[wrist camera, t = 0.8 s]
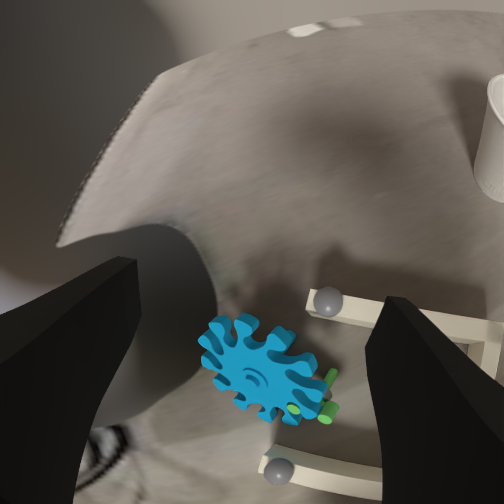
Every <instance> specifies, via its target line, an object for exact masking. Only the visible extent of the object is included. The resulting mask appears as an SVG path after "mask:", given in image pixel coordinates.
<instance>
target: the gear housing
mask: <svg viewBox="0 0 504 504" xmlns="http://www.w3.org/2000/svg"><path fill="white" fill-rule="evenodd" d="M383 305H384V303H383V302H378V301H373V300H367V299H362V298H356V297H351V296H346V295H341V293H340V292H339V290H337V289H336V288H334V287H330V286H327V287H323V288H321V289H319V290H315V289H310V293H309V297H308V301H307V305H306V310H307V312H308V313H309V314H310V315H311V316H314V317H319V318H323V319H328V320H333V321H338V322H343V323H348V324H353V325H358V326H363V327H369V328H374V326H375V324H376V322H377V319H378V317H379V315H380V312H381V310H382V308H383ZM419 310H420V311H421V312H422V313H423V314H424V315H425V316H427V317H428V318H429V319H430V320H431V321H432V322H433V323H434V324H435V325H436V326H437V327H438V328H439V329H440V330H441V331H442V332H443V333H444V334H445V335H446V336H447V337H448V338H449V339H450V340H451V341H452V342H456V343H463V344H469V347H468V353H467V356H468V357H469V358H470V359H471V360H472V361H473V362H474V363H475V364H477V365H478V366H479V367H480V368H481V369H482V370H483V371H484V372H486V373H487V374H488V375H489V376H490V377H492V378H493V379H494V380H495V377H496V372H497V367H498V362H499V356H500V351H501V344H502V338H503V330H504V323H502V322H495V321H489V320H483V319H476V318H470V317H464V316H458V315H452V314H446V313H440V312H434V311H429V310H423V309H419ZM258 472H259V473H263V474H264V477H265V479H266V480H267V481H268V482H269V483H271V484H273V485H284V484H286V483H288V482H292V483H296V484H300V485H303V486H307V487H311V488H315V489H320V490H324V491H328V492H333V493H338V494H343V495H348V496H354V497H359V498H365V499H372V500H379V501H382V468H378V467H372V466H366V465H361V464H355V463H350V462H345V461H340V460H336V459H331V458H327V457H323V456H318V455H314V454H310V453H306V452H303V451H299V450H295V449H292V448H288V447H285V446H281V445H278V444H274V445H273V446H272V447H271V448H270V449H269V450H268V451H267V452H266V453H265V454H264V455H263V458H262V461H261V464H260V467H259V469H258Z"/></svg>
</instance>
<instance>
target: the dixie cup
mask: <svg viewBox="0 0 504 504" xmlns="http://www.w3.org/2000/svg"><path fill="white" fill-rule="evenodd" d="M487 96H488V101H487V107H486V113H485V118H484V123H483V128H482V133H481V138H480V142H479V146H478V150H477V155H476V159H475V162H474V168H473V171H474V176H475V179H476V182H477V184H478V185H479V187H480V188H481V190H482V191H483V192H484V193H485V194H486V195H487V196H489V197H490V198H491V199H493V200H495V201H498V202H501V203H504V74H500V75H497V76H495V77H493V78H492V79H491V80H490V82H489V83H488V87H487Z"/></svg>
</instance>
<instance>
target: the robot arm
mask: <svg viewBox="0 0 504 504" xmlns="http://www.w3.org/2000/svg"><path fill="white" fill-rule="evenodd" d="M141 316H142V312H141V303H140V293H139V282H138V270H137V260H136V259H131V258H125V257H119V256H118V257H115V258H113V259H110V260H108V261H106V262H104V263H102V264H100V265H98V266H97V267H95V268H93V269H91V270H89V271H87V272H85V273H84V274H82V275H80V276H78V277H76V278H74V279H73V280H71V281H69V282H67V283H66V284H64V285H62V286H60V287H58V288H56V289H54V290H52V291H50V292H48V293H46V294H44V295H42V296H40V297H38V298H36V299H34V300H32V301H30V302H28V303H26V304H24V305H22V306H20V307H18V308H15V309H13V310H10V311H8V312H6V313H3V314H1V315H0V504H73V498H74V491H75V486H76V481H77V477H78V472H79V468H80V463H81V459H82V456H83V452H84V449H85V445H86V442H87V438H88V435H89V432H90V429H91V426H92V423H93V420H94V417H95V414H96V412H97V409H98V407H99V405H100V403H101V400H102V398H103V396H104V394H105V392H106V391H107V389H108V387H109V385H110V383H111V381H112V379H113V377H114V375H115V373H116V371H117V369H118V367H119V365H120V364H121V362H122V360H123V358H124V356H125V354H126V352H127V350H128V348H129V347H130V345H131V342H132V340H133V337H134V335H135V332H136V330H137V327H138V324H139V321H140V319H141ZM365 354H366V367H367V377H368V382H369V387H370V392H371V396H372V401H373V406H374V411H375V416H376V421H377V426H378V431H379V437H380V443H381V452H382V504H504V387H503V386H502V385H500V384H499V383H498V382H497V381H495V380H494V379H493V378H492V377H490V376H489V375H488V374H487V373H486V372H484V371H483V370H482V369H481V368H480V367H479V366H478V365H477V364H475V363H474V362H473V361H472V360H471V359H470V358H469V357H468V356H467V355H466V354H465V353H463V352H462V351H461V350H460V349H459V348H458V347H457V346H456V345H455V344H454V343H453V342H452V341H451V340H450V339H449V338H448V337H447V336H446V335H445V334H444V333H443V332H442V331H441V330H440V329H439V328H438V327H437V326H436V325H435V324H434V323H433V322H432V321H431V320H430V319H429V318H428V317H427V316H425V315H424V314H423V313H422V312H421V311H420V310H419V309H418V308H417V307H416V306H415V305H413V304H412V303H411V302H410V301H408V300H407V299H406V298H400V297H392V296H387V298H386V300H385V303H384V305H383V308H382V310H381V312H380V315H379V317H378V319H377V322H376V324H375V326H374V328H373V331H372V333H371V335H370V337H369V340H368V342H367V344H366V346H365Z"/></svg>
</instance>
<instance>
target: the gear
mask: <svg viewBox="0 0 504 504" xmlns="http://www.w3.org/2000/svg"><path fill="white" fill-rule="evenodd" d="M234 326H235V328H236V331H237V334H238V340H236V339H234V338H233V337H232V335H231V333H230V330H231V327H232V323H231V320H230V319H229V318H228V317H227V316H218V317H215V318H214V319H213V320H212V321H211V322H210V323H209V327H210V329H209V330H208V331H206V332H205V333H204V334H203V335H202V336H201V337H200V338H199V340H198V342H199V343H200V344H201V346H203V347H204V348H206V349H208V351H206V353H204V354H203V355H202V357H201V362H202V365H203V366H204V367H206V368H207V369H212V370H215V371H217V372H219V373H218V374H217V376H216V377H215V378H214V379H213V382H214V384H215V385H216V387H217V388H218V389H219V390H221V391H225V390H234V391H237V392H240V393H239V394H238V395H237V396H236V397H235V398H234V399H233V402H234V403H235V404H236V405H237V406H238V407H239V408H241V409H242V410H246V409H247V408H248V406H249V405H250V404H251V403H259V404H261V405H262V406H263V407H262V409H261V410H260V411H259V413H258V417H260V418H261V419H263V420H265V421H267V422H269V423H271V422H272V421H273V420H274V418H275V417H276V416H277V411H276V408H275V407H278V408H280V409H282V410H283V411H284V413H285V414H284V416H283V417H282V421H283V422H284V423H285V424H288V425H293V426H298V424H299V423H300V421H301V419H302V417H304V418H306V419H313V418H315V417H317V416H318V420H319V421H320V422H322V423H324V424H330V423H331V422H332V420H333V419H334V417H335V415H336V413H337V411H338V409H339V406H338V404H336V403H335V402H332V401H330V399H331V398H332V393H331V391H330V390H329V389H330V387H331V385H332V383H333V382H334V380H335V378H336V376H337V374H338V371H337V370H336V369H334V368H331V369H330V370H329V371H328V373H327V375H326V377H325V378H324V380H323V381H320V380H314V379H312V378H311V376H313V374H314V372H315V371H316V369H317V367H318V364H317V361H316V358H315V357H314V355H313V354H312V353H309V352H305V353H303V354H301V355H298V356H287V355H284V354H285V352H286V351H287V350H288V348H289V347H290V346H291V344H292V343H293V342H294V340H295V339H296V335H295V333H294V332H293V331H291V330H285V329H284V328H282V327H281V326H277V327H275V328H274V329H273V330H272V332H271V333H270V334H269V335H268V337H267V340H266V341H264V342H256V341H255V340H253V339H252V337H251V334H252V333H253V332H254V331H255V330H256V329H257V328H258V326H259V320H258V319H257V318H255V317H254V316H252V315H249V314H247V313H244V312H243V313H242V314H241V315H240V316H239V317H238V318H237V319H236V320H235V321H234ZM219 340H220V342H221V344H222V345H221V344H220V342H219ZM321 409H322V410H321ZM320 411H321V412H320ZM318 414H319V415H318Z"/></svg>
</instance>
